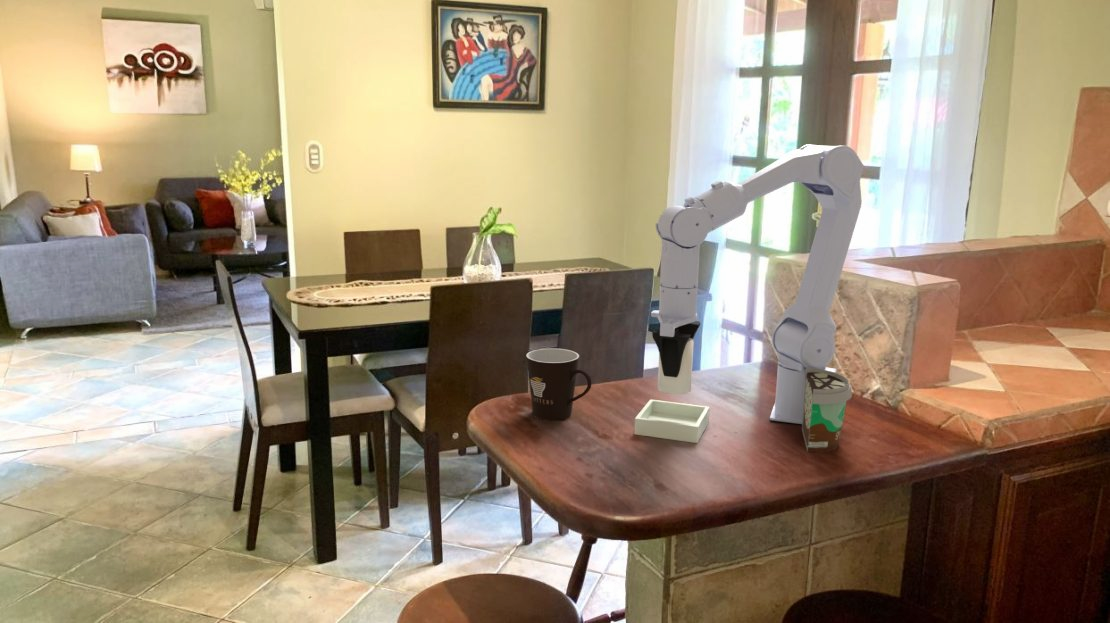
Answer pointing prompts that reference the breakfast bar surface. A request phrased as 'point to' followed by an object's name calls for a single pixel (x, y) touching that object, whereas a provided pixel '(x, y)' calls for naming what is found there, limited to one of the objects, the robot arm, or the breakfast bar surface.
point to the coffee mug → (553, 382)
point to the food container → (824, 409)
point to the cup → (684, 377)
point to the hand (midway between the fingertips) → (674, 371)
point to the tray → (672, 420)
